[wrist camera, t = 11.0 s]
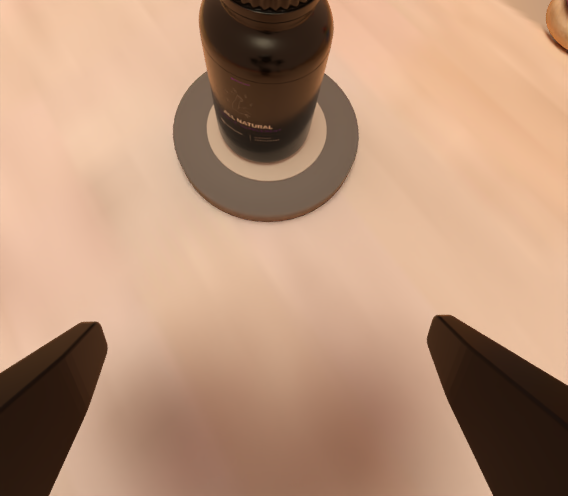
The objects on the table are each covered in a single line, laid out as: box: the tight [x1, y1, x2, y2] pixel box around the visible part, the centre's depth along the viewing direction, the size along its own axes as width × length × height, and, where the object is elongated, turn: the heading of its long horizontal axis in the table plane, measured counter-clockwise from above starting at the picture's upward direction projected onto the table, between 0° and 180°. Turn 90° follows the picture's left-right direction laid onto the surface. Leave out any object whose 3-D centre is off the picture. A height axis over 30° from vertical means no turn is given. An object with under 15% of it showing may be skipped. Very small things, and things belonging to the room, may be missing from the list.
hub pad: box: [173, 72, 359, 222], centre depth 25 cm, size 14×14×2 cm
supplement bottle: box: [199, 0, 334, 163], centre depth 18 cm, size 7×7×12 cm
